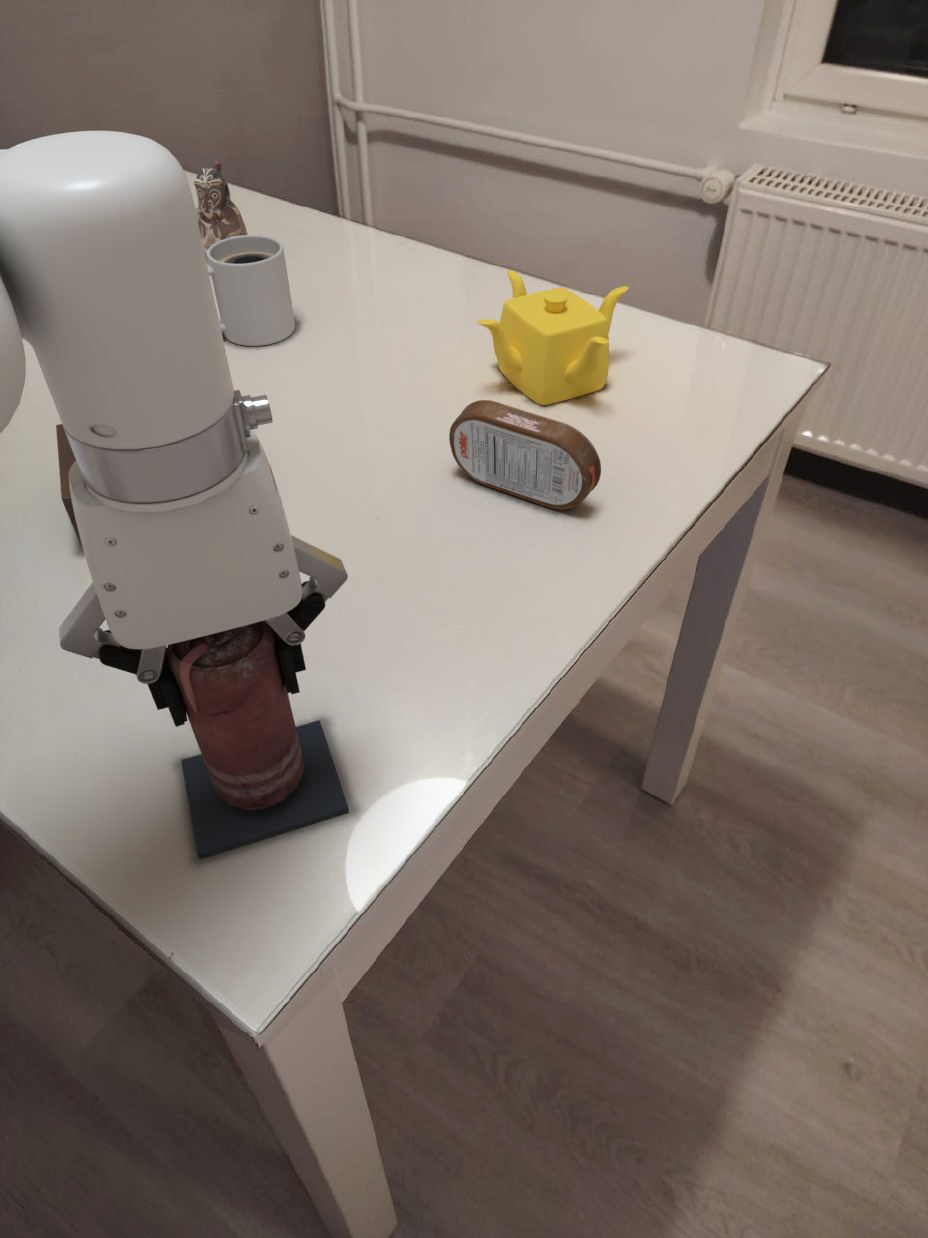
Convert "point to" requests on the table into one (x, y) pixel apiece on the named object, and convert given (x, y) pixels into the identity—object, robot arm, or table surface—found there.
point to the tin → (524, 454)
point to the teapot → (553, 342)
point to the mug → (251, 289)
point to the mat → (304, 806)
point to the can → (240, 714)
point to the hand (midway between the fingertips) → (234, 690)
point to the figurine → (216, 208)
